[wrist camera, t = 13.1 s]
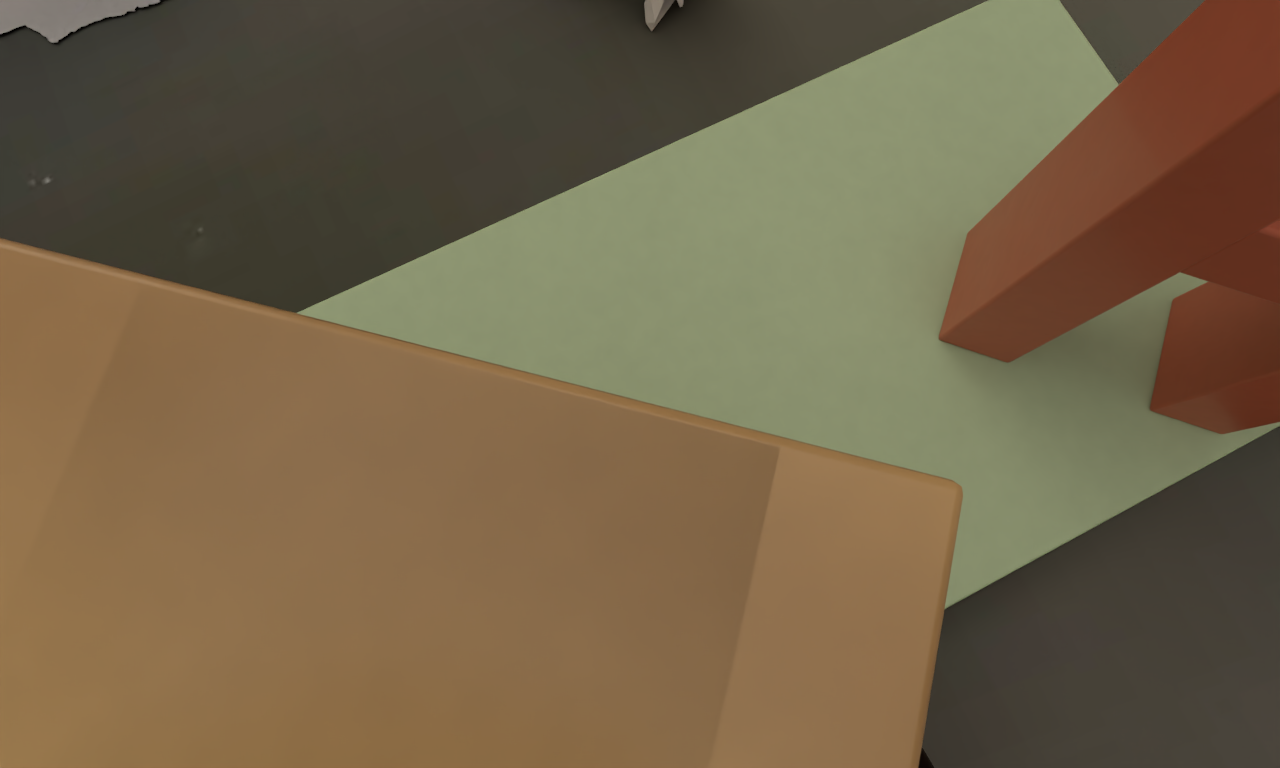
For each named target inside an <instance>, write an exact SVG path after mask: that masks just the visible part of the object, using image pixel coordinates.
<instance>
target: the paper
mask: <svg viewBox="0 0 1280 768" xmlns="http://www.w3.org/2000/svg"><path fill="white" fill-rule="evenodd" d="M674 1H675V0H645V3H644V8H645V20H646V24H647V26H648V27H649V28H650V30H651V31H653V29H654V28H655V27H656V25H657V24H658V22H659V21H660V20H661V18H662V17H663V16H664V14H665V13H666V12H667V10H668V9H669V8H670V6H671V5H672V4H673V2H674ZM677 2H678V4H679V6H680V7H682V6H683V2H684V0H677Z"/></svg>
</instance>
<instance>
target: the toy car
mask: <svg viewBox="0 0 1280 768" xmlns="http://www.w3.org/2000/svg"><path fill="white" fill-rule="evenodd" d="M158 2H160V0H0V34H2V33H5V32H9V31H11V30H12V29H15V28H18V27H20V26H24V25H26V26H27V27H28V28H31V29H33V30H35V31H37V32H40V33H41V35H43V36H45V37H46V38H47V39H48V41H50V42H52V43H55V42H57V43H58V40H60V39H62V38H63V37H65V36H67V35H68V34H69V33H70V32H75V31H76V30H77V29H78V28H80V27H82V26H87V25H88V24H89V23H93V22H94V21H100V20H102V19H103V18H105V17H109V16H111V17H114V16H121V15H124V14H125V13H126V12H127V11H135V8H136V7H137V6H138V7H140V8H141V7H147V6H148V5H149V4H155V3H158Z"/></svg>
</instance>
